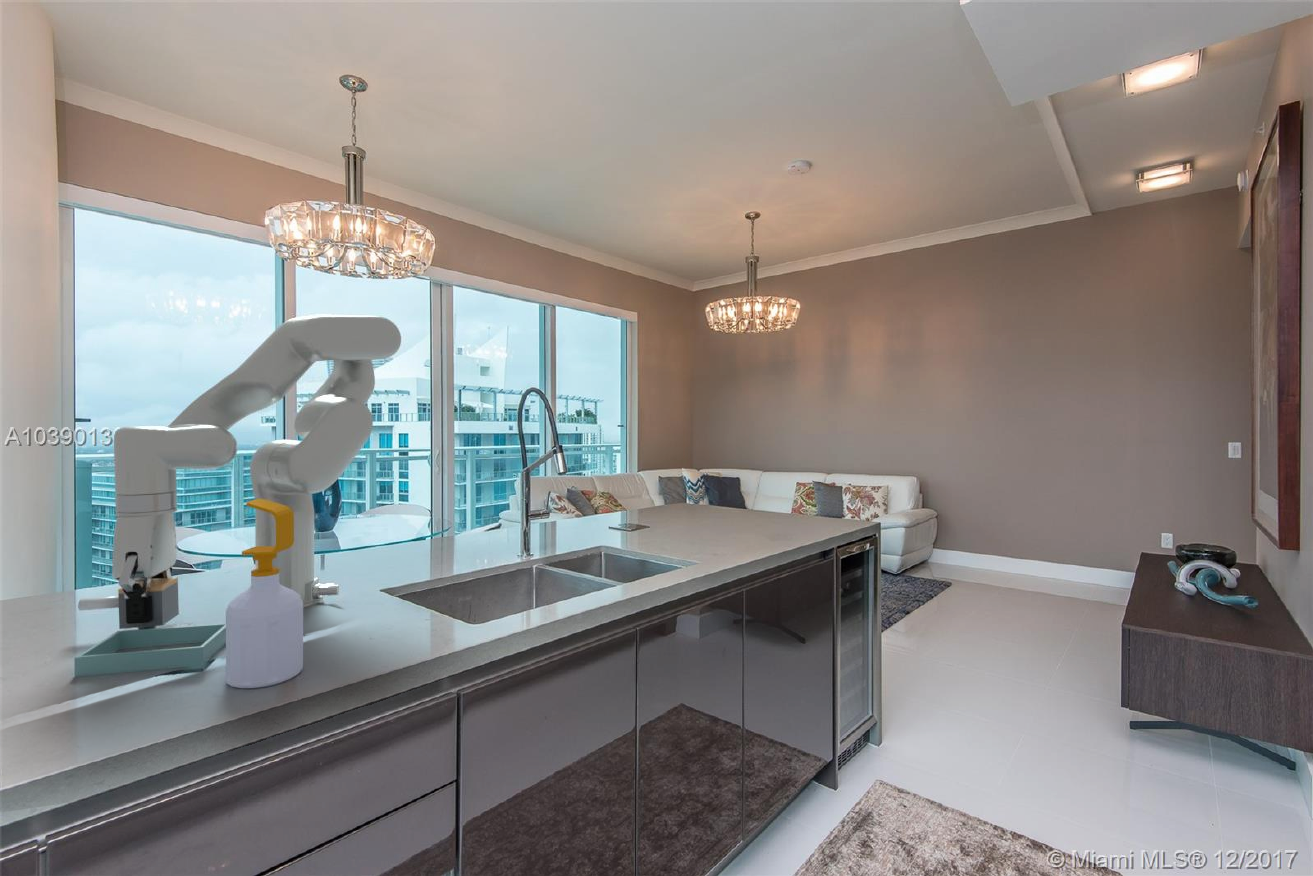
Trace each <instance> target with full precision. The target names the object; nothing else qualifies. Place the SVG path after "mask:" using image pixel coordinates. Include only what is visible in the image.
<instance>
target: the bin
mask: <svg viewBox="0 0 1313 876" xmlns="http://www.w3.org/2000/svg"><path fill="white" fill-rule="evenodd" d="M196 643H197V644H198V643H202V644H201V645H199V646H188V647H187V646H185V647H177V648H176V647H175V648H174V647H172V648H161V649H152V650H151V649H150V650H137V651H125V652H117V651H119V650H123V649H124V650H125V649H134V648H149V647H157V646H158V647H160V646H173V645H182V644H183V645H185V644H196ZM224 646H226V622H225V623H224V622H223V623H211V624H210V623H209V624H199V625H189V626H182V627H168V628H154V629H140V630H126V631H123V630H117V631H116V632H114V633H112V634H110V635H109V636H108V637H106V638H104V639H103V640H100V641H99V642H98V643H96V644H95V645H93V646H91V647H90V648H87V649H86V650H85V651H83V652H81V653H80V654H78V655H77V656H75V657H74V659H73V660H74V677H82V676H83V677H84V676H93V675H106V674H118V673H128V672H129V673H130V672H138V671H139V672H140V671H142V672H143V671H151V670H153V671H154V670H164V669H165V670H166V669H174V668H178V669H175V670H172V671H168V672H164V673H161V674H158V675H156V677H162V676H170V675H171V676H172V675H173V676H174V675H183V674H192V673H194V674H195V673H202V672H205V671H206V670H207V668H209V667H210V666H211V665H212V664H213V663H214V662H215V661H216V660H217V658H214V659H211V658H212V657H213V656H215V654H217V652H218V651H220V650H221V649H222V648H223V647H224ZM210 659H211V660H210Z"/></svg>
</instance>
